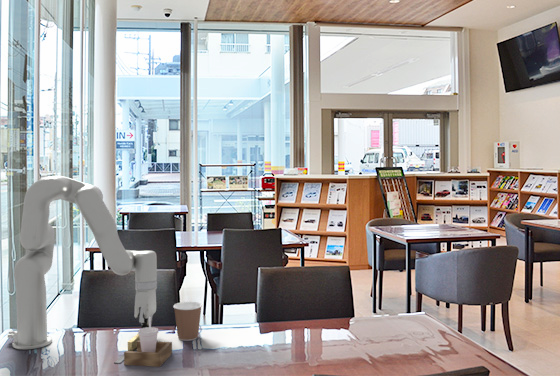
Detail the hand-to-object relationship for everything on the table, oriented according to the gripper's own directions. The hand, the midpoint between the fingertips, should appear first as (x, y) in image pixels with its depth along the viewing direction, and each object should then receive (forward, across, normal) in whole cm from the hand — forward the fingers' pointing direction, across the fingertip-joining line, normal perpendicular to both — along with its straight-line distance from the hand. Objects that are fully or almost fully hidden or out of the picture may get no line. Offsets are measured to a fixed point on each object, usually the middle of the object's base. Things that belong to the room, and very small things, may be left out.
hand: (146, 335), depth 195 cm
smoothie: (+1, +20, +8) cm, 22 cm away
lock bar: (+1, +10, 0) cm, 10 cm away
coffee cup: (+1, -2, +15) cm, 15 cm away
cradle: (+1, +15, +7) cm, 17 cm away
